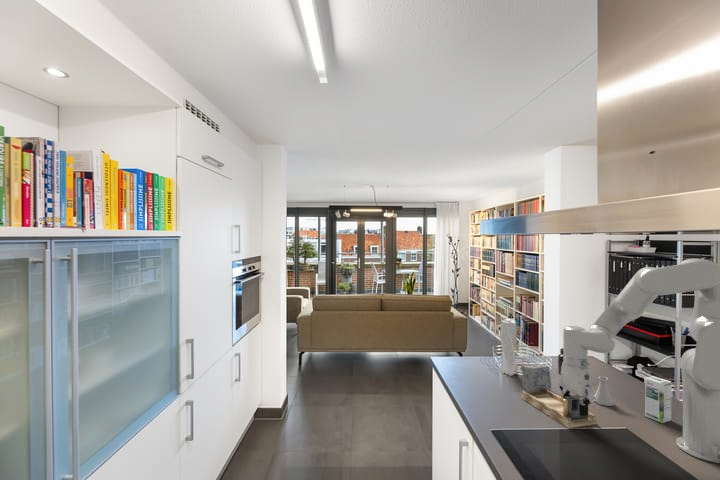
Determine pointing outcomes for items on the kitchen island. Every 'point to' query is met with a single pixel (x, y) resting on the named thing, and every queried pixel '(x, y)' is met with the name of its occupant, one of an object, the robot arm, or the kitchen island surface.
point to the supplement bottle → (560, 360)
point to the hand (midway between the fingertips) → (575, 410)
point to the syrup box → (658, 399)
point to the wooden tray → (553, 406)
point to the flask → (603, 393)
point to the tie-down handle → (574, 407)
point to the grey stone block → (536, 375)
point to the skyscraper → (508, 346)
